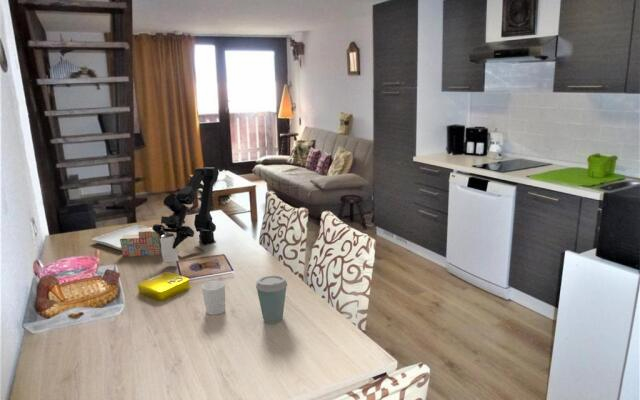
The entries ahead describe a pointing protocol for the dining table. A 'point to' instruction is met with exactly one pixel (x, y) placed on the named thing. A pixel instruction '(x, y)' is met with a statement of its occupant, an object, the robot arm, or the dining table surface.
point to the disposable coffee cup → (272, 297)
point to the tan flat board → (190, 252)
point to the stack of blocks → (141, 243)
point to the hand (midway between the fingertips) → (167, 247)
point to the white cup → (214, 297)
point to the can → (168, 248)
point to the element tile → (163, 286)
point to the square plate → (117, 236)
